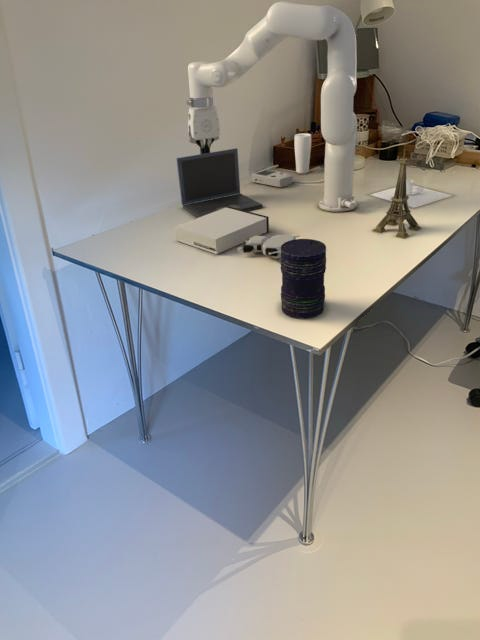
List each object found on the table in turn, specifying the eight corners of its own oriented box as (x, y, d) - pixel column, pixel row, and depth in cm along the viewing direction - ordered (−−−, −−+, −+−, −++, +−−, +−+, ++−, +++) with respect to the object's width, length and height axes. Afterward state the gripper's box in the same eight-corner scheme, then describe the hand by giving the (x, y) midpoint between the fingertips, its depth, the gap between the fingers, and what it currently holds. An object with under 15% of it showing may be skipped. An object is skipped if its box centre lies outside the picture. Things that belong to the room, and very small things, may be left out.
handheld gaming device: (280, 188, 205) (280, 178, 203) (251, 182, 214) (250, 173, 212) (294, 183, 211) (294, 173, 209) (265, 178, 219) (265, 168, 218)
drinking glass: (311, 174, 221) (312, 136, 213) (294, 175, 221) (294, 137, 214) (309, 170, 227) (310, 132, 219) (293, 170, 227) (293, 133, 219)
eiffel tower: (404, 238, 156) (414, 150, 143) (372, 231, 162) (378, 145, 150) (421, 228, 162) (432, 142, 150) (389, 221, 169) (397, 138, 156)
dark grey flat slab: (262, 207, 186) (262, 204, 186) (201, 220, 178) (201, 217, 177) (240, 196, 199) (240, 193, 198) (182, 208, 190) (182, 204, 189)
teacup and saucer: (426, 193, 192) (427, 181, 190) (411, 197, 188) (412, 186, 186) (406, 188, 198) (408, 176, 196) (391, 192, 194) (392, 181, 192)
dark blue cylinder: (307, 324, 116) (308, 260, 109) (272, 310, 122) (270, 249, 115) (333, 306, 123) (335, 244, 115) (298, 294, 129) (298, 235, 121)
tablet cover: (237, 148, 191) (236, 148, 191) (177, 158, 182) (176, 158, 182) (240, 193, 198) (239, 192, 199) (182, 205, 189) (181, 204, 190)
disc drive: (269, 232, 166) (268, 216, 163) (217, 255, 152) (216, 238, 149) (228, 220, 176) (227, 205, 174) (176, 241, 163) (174, 225, 160)
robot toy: (235, 260, 150) (284, 264, 143) (233, 244, 148) (283, 248, 141) (256, 244, 159) (303, 248, 152) (254, 229, 157) (302, 233, 150)
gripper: (185, 106, 174) (190, 164, 183) (226, 101, 180) (229, 157, 189) (176, 103, 180) (181, 159, 189) (217, 99, 186) (220, 153, 195)
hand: (205, 158), depth 189 cm, fingers closed
